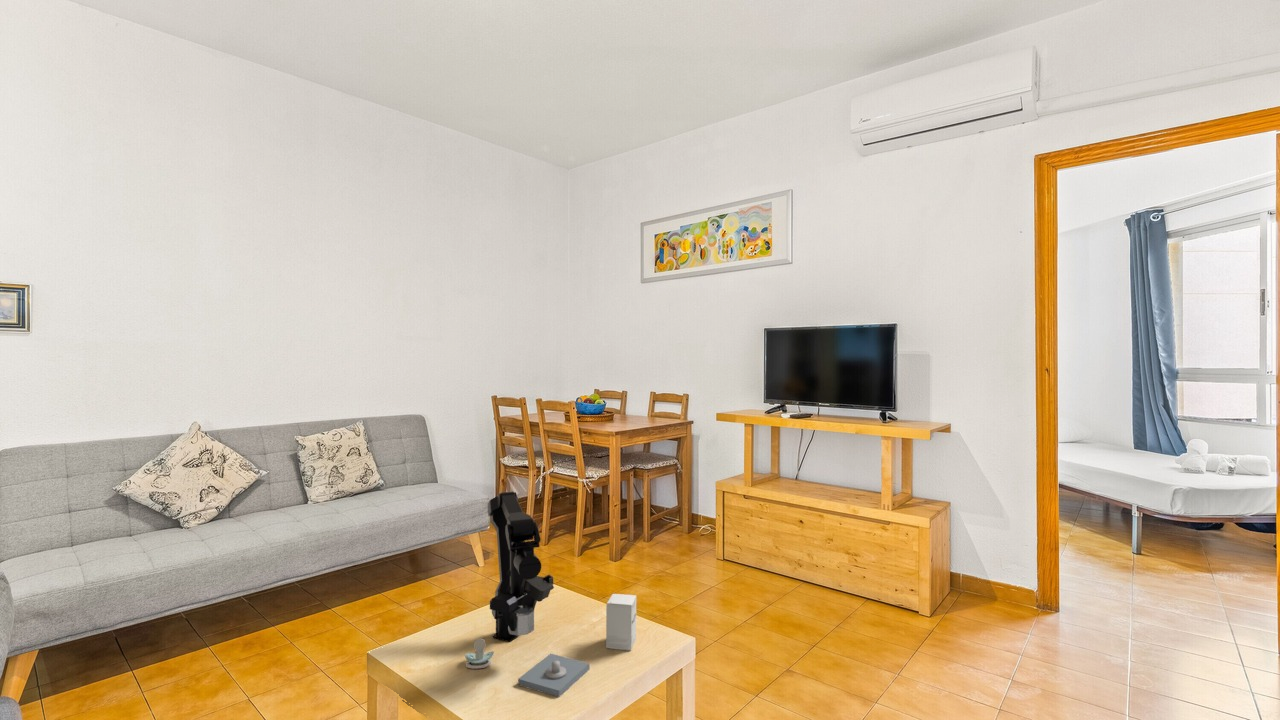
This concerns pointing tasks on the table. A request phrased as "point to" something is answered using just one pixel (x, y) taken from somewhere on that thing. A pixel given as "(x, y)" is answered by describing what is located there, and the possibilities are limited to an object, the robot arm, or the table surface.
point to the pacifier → (479, 656)
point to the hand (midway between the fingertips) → (521, 625)
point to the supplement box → (621, 622)
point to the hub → (523, 621)
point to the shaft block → (554, 674)
